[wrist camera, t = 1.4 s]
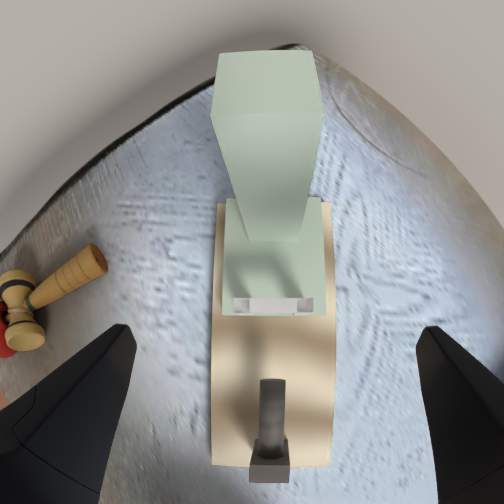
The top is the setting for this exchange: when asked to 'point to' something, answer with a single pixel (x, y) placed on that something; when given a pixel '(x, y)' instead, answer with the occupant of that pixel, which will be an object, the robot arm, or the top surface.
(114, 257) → the top surface
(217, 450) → the board
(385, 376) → the top surface
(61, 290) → the kendama
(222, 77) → the tall sage green column
